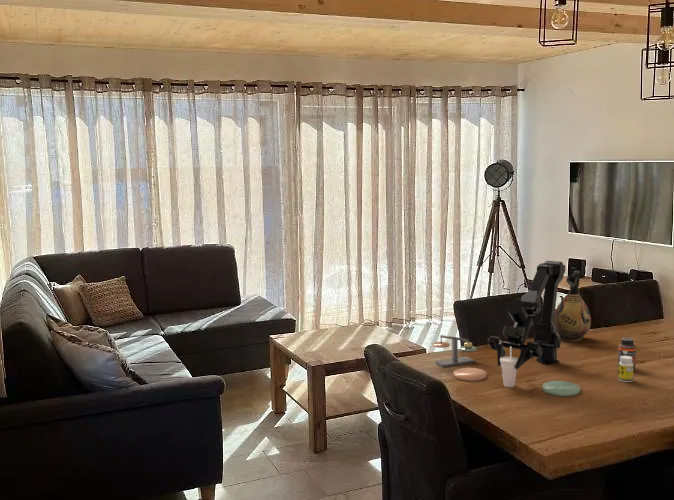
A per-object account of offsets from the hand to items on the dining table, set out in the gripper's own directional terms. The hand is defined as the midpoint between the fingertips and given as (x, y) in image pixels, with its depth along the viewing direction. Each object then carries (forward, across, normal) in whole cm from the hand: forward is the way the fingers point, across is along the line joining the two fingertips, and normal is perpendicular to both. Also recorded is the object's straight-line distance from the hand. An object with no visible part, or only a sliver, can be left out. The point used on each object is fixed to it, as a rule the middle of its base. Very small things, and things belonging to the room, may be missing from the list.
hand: (507, 367), depth 230 cm
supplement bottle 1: (-25, +27, +35) cm, 51 cm away
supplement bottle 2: (-15, +31, +26) cm, 43 cm away
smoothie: (+4, 0, +6) cm, 7 cm away
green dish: (0, +16, +10) cm, 19 cm away
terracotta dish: (+3, -16, +7) cm, 18 cm away
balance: (-5, -29, +15) cm, 33 cm away
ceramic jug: (-46, -4, +56) cm, 73 cm away
